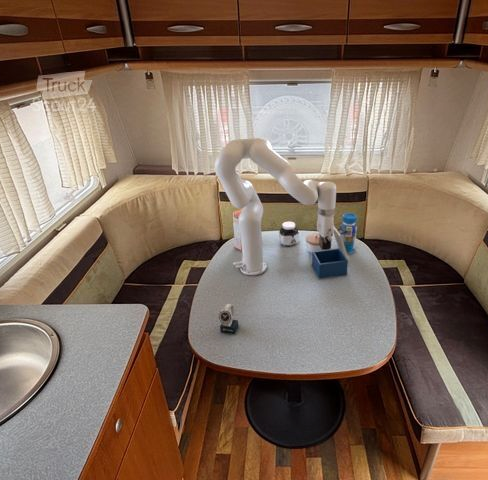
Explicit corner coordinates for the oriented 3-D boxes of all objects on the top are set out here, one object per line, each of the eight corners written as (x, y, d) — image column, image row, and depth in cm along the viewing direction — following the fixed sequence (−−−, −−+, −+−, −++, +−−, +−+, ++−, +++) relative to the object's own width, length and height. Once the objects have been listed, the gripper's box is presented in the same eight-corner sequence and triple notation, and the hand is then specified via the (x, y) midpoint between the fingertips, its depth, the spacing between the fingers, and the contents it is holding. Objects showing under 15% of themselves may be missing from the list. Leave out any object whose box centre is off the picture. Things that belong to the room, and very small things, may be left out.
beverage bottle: (335, 250, 187) (337, 215, 177) (345, 244, 192) (348, 210, 182) (347, 256, 181) (351, 221, 171) (358, 250, 186) (362, 215, 176)
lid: (339, 235, 155) (348, 231, 155) (330, 224, 165) (339, 220, 165) (347, 260, 163) (356, 256, 163) (338, 247, 173) (347, 243, 173)
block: (321, 249, 161) (322, 241, 159) (318, 245, 165) (319, 236, 163) (331, 248, 162) (331, 240, 160) (327, 243, 166) (328, 235, 164)
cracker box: (242, 251, 186) (239, 215, 175) (234, 247, 189) (231, 211, 179) (261, 241, 194) (260, 206, 184) (254, 238, 198) (252, 203, 188)
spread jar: (282, 248, 188) (281, 229, 182) (275, 238, 198) (275, 219, 192) (303, 244, 192) (303, 225, 186) (296, 235, 201) (296, 216, 195)
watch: (219, 335, 133) (215, 313, 128) (226, 321, 140) (223, 299, 135) (233, 338, 132) (230, 315, 127) (240, 323, 139) (238, 301, 134)
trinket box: (326, 256, 181) (327, 240, 176) (305, 256, 181) (306, 240, 177) (325, 246, 190) (326, 230, 186) (305, 245, 190) (305, 230, 186)
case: (319, 278, 164) (319, 264, 161) (311, 265, 174) (312, 251, 170) (346, 274, 167) (348, 260, 163) (338, 261, 177) (339, 248, 173)
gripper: (312, 203, 161) (311, 238, 170) (324, 219, 147) (322, 257, 156) (328, 201, 162) (326, 236, 171) (341, 217, 148) (338, 254, 157)
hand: (324, 246), depth 163 cm, fingers closed on block, 4 cm apart
